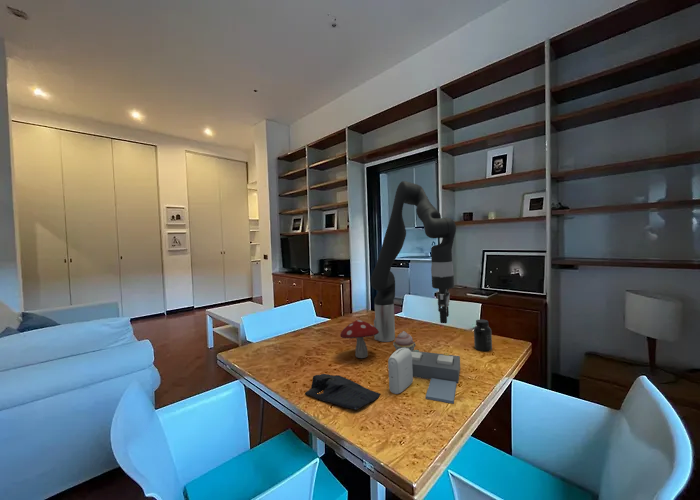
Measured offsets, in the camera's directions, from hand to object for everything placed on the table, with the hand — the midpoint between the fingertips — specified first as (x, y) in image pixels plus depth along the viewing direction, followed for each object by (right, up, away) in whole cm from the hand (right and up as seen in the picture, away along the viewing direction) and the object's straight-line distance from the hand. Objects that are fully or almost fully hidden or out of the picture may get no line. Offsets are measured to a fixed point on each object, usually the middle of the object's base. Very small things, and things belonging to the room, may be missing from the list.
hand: (444, 319), depth 104 cm
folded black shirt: (-36, -22, -11) cm, 44 cm away
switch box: (-5, -19, +1) cm, 20 cm away
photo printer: (-17, -20, -9) cm, 28 cm away
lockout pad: (-5, -20, -12) cm, 24 cm away
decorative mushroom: (-30, -20, +18) cm, 40 cm away
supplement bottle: (+23, -17, +20) cm, 35 cm away
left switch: (-10, -16, +3) cm, 19 cm away
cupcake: (-11, -19, +17) cm, 28 cm away
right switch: (0, -16, -1) cm, 16 cm away
